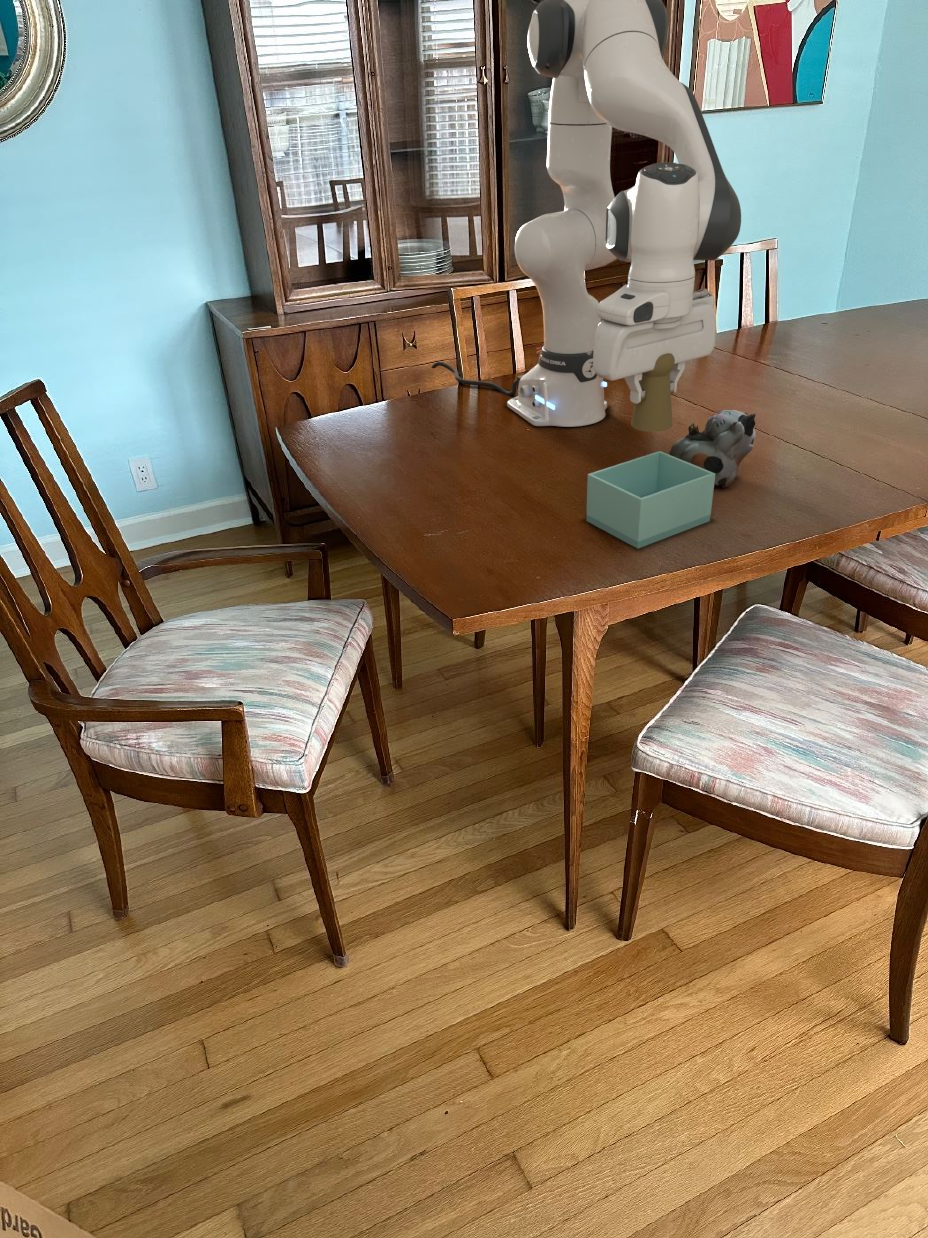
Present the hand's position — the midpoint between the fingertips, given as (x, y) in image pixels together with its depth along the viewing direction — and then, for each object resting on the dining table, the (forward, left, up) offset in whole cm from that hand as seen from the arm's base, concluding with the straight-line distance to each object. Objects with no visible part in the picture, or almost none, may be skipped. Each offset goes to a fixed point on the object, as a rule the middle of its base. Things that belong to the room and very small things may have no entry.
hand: (652, 397), depth 124 cm
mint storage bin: (-6, 0, -16) cm, 17 cm away
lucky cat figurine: (-7, +20, -20) cm, 29 cm away
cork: (0, 0, -4) cm, 4 cm away
